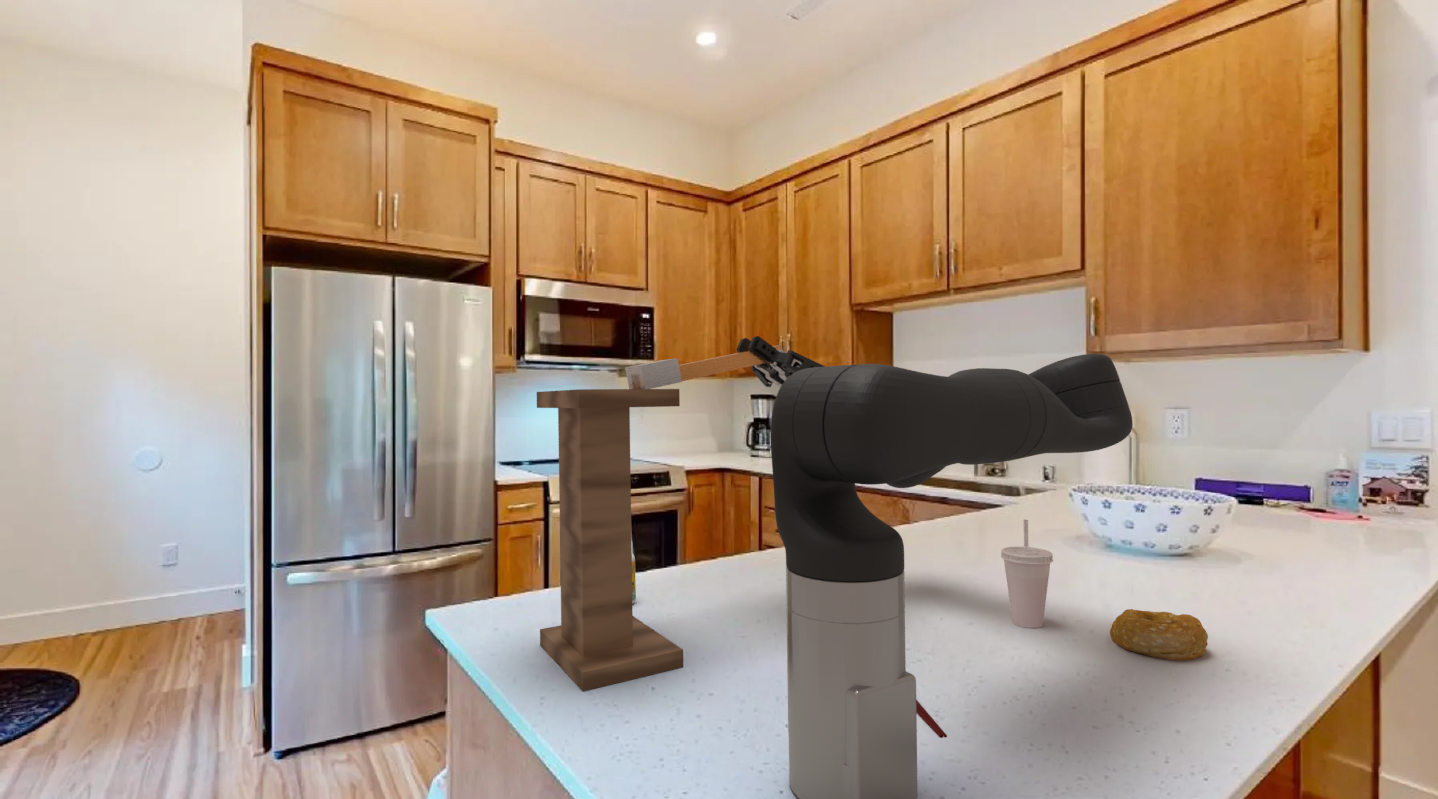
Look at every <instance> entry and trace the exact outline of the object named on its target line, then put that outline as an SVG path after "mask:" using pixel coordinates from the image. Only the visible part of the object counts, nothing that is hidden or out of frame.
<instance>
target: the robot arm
mask: <svg viewBox="0 0 1438 799" xmlns="http://www.w3.org/2000/svg"><path fill="white" fill-rule="evenodd" d="M773 346H774V345H772V344H770V343H769V342H767V341H766V340H765V339H763V338H762V337H761V336H759V335H755V336H753V337H752V338H751V340H750V339H749V338H747V337H744V338H741V339H740V340H739V343H738V345H737V346H736V352H737V353H740V352H745V351H751V352H752V353H754V354H755V355H757V356H758V357H759V358H761V359H762V360H764V361H765V362H767V363H763V364H759V365H754V366H750V370H751V372H752V373H753V374H754V375H755V377H757V379H758V380H759V381H760V382H761V384H763V386H765V387H767V388H771V387H772V385H773V384H775V385H777V386H778V387H779V389H778V392H777V394H776V397H775V400H774V403H773V408H772V414H771V423H770V450H771V466H772V467H771V468H772V482H773V497H774V513H775V514H774V515H775V522H776V527H777V531H778V533H779V537H780V538H781V540H782V544H783V546H784V549H785V550H784V551H785V566H786V567H785V573H786V574H785V577H786V579H785V581H786V582H785V583H786V584H785V586H786V595H785V596H786V655H787V656H786V657H787V659H786V662H787V664H786V667H787V670H786V673H787V676H786V678H787V728H788V730H787V731H788V732H787V733H788V768H789V770H788V773H789V774H788V776H789V777H788V778H789V779H788V780H789V785H790V788H791V790H792V792H793V793H794V795H795V796H796V798H798V799H919V798H918V796H919V795H918V793H919V791H918V739H917V738H918V735H917V734H918V733H917V732H918V730H917V728H918V726H917V713H916V700H917V678H916V676H915V675H914V674H913V673H910V672H909V671H907V669H906V666H907V664H906V663H907V662H906V614H905V613H906V610H905V609H906V600H905V599H906V597H905V596H906V594H905V590H906V589H905V586H906V585H905V582H906V581H905V545H904V541H903V538H902V536H901V534H900V532H898V531H897V530H896V529H895V528H894V527H893V526H891V525H889V524H888V523H886V522H884V521H883V520H881V519H880V518H879V517H878V516H876V515H875V514H873V513H872V512H871V511H870V510H869V509H868V508H867V507H866V505H865V504H864V503H863V502H862V500H861V499H860V497H859V495H858V493H857V488H856V484H858V485H865V486H866V485H868V486H869V485H873V486H874V485H885V484H886V485H888V486H889V487H892V488H894V489H895V488H896V489H907V488H908V489H910V488H913V487H917V486H919V485H920V484H923V483H924V482H926V481H928V480H929V479H931V478H932V477H934V476H935V475H937V474H938V473H940V472H941V471H943V470H944V469H945V468H946V467H947V466H952V465H955V464H956V465H957V464H961V465H969V466H971V465H972V466H973V465H974V466H975V465H988V464H990V465H991V464H996V463H997V464H998V463H1003V462H1010V461H1016V460H1020V459H1025V458H1028V457H1033V456H1037V455H1038V456H1039V455H1042V454H1043V455H1044V454H1073V453H1074V454H1075V453H1089V452H1094V451H1099V450H1103V449H1107V448H1110V447H1112V446H1115V445H1117V444H1119V443H1121V442H1122V441H1124V440H1125V439H1126V438H1128V436H1129V435H1130V434H1131V432H1132V430H1133V415H1132V413H1131V412H1132V411H1131V409H1130V406H1129V402H1128V400H1127V396H1126V394H1125V391H1124V388H1123V385H1122V381H1121V379H1120V376H1119V373H1118V370H1117V368H1116V366H1115V364H1114V362H1113V360H1112V358H1111V357H1109V356H1108V355H1107V354H1102V353H1085V354H1079V355H1075V356H1070V357H1067V358H1063V359H1060V360H1057V361H1054V362H1052V363H1050V364H1047V365H1045V366H1043V367H1041V368H1038V369H1036V370H1034V371H1033V372H1030V373H1025V372H1024V371H1023V372H1022V371H1020V370H1016V369H1009V368H993V367H991V368H986V367H981V368H970V369H969V368H968V369H963V370H958V371H957V372H954V373H952V374H950V375H949V376H944V375H937V374H932V373H926V372H922V371H917V370H912V369H907V368H903V367H898V366H894V365H888V364H880V363H861V364H845V365H831V366H830V365H828V366H825V365H823V364H821V363H818V361H817V362H816V361H814V360H813V359H811V358H808V357H806V356H804V355H801V354H799V353H797V352H795V351H794V350H791V349H788V350H787V352H786V351H785V350H783V348H782V349H777V350H776V348H774V347H773Z"/></svg>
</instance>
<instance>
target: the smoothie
mask: <svg viewBox="0 0 1438 799" xmlns="http://www.w3.org/2000/svg"><path fill="white" fill-rule="evenodd" d="M1000 552H1001V554H1000V557H1001V559H1003V563H1004V570H1005V578H1006V585H1007V590H1008V598H1009V605H1010V612H1011V618H1012V623H1013V624H1014V625H1016V626H1018V627H1021V628H1022V627H1023V628H1026V629H1037V628H1041V627H1043V626H1044V619H1045V611H1046V603H1047V595H1048V594H1047V593H1048V588H1049V587H1048V584H1049V577H1050V568H1051V563H1053V562H1054V559H1053V556H1054V555H1053V553H1052V551H1050V550H1047V549H1044V548H1038V547H1032V546H1029V520H1028V519H1023V546H1009V547H1008V546H1007V547H1004V548H1002V549H1001V551H1000Z"/></svg>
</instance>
